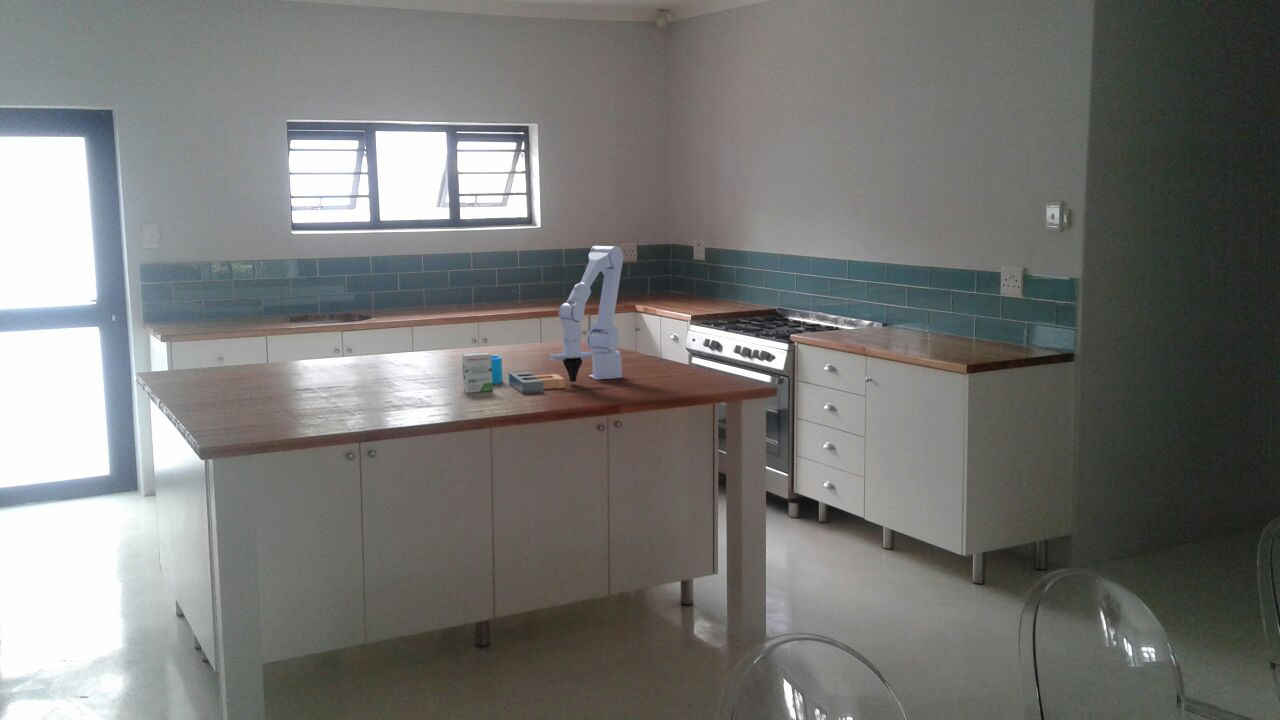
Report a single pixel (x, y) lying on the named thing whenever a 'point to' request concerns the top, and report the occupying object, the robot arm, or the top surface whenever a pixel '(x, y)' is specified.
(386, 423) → the top surface
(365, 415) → the top surface
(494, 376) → the blue cylinder
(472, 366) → the ink box
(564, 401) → the top surface
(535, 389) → the grey hollow block
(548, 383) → the clip
